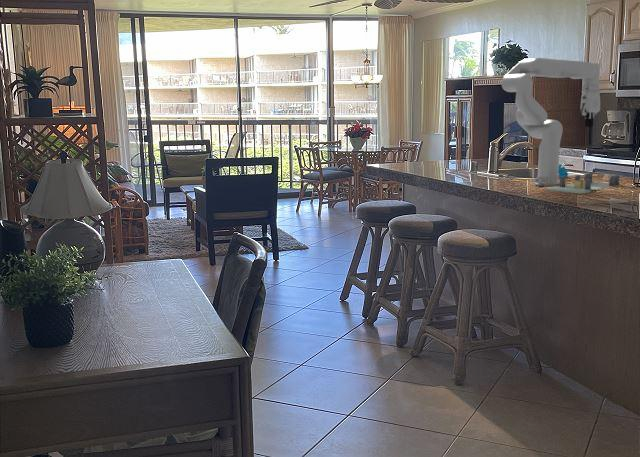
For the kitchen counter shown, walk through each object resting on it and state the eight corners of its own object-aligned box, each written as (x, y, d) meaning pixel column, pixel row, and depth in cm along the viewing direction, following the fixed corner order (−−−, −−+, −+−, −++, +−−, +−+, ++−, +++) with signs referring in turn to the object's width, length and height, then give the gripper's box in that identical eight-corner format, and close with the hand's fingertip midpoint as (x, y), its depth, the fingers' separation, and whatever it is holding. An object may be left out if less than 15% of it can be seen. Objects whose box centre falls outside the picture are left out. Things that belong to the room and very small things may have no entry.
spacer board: (580, 193, 303) (581, 181, 302) (545, 189, 317) (546, 178, 316) (621, 186, 323) (622, 175, 322) (586, 183, 337) (587, 172, 336)
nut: (583, 188, 311) (584, 181, 311) (570, 187, 317) (570, 180, 316) (591, 187, 315) (592, 180, 314) (578, 186, 320) (578, 179, 320)
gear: (558, 176, 356) (550, 161, 361) (551, 183, 360) (543, 168, 365) (573, 177, 361) (565, 163, 366) (566, 184, 365) (558, 170, 370)
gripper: (588, 89, 328) (586, 127, 331) (606, 88, 336) (604, 126, 339) (574, 89, 334) (573, 127, 337) (593, 88, 342) (591, 125, 345)
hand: (589, 126), depth 338 cm, fingers closed
